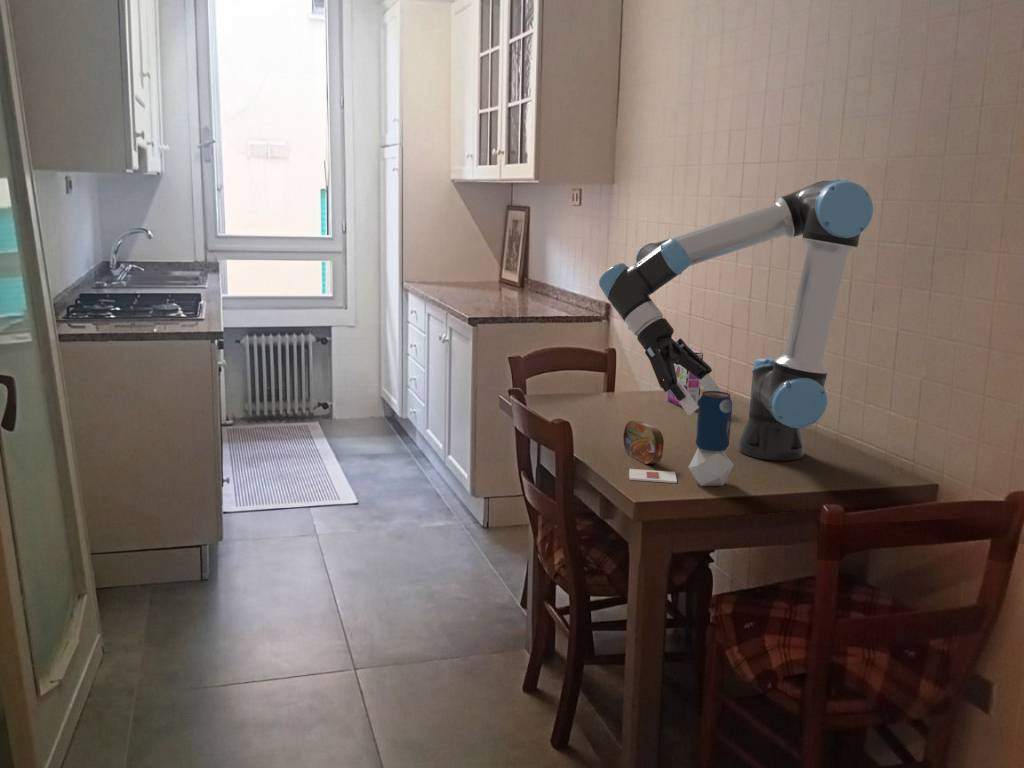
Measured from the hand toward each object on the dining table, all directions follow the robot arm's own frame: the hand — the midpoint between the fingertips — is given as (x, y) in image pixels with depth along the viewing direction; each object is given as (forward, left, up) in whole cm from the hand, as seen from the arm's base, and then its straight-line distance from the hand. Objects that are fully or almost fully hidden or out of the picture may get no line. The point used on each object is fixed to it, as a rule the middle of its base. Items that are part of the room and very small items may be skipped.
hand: (708, 406), depth 202 cm
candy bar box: (0, -76, -17) cm, 78 cm away
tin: (+12, -15, -17) cm, 26 cm away
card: (+11, -1, -17) cm, 20 cm away
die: (-1, 0, -17) cm, 17 cm away
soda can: (-1, 0, -9) cm, 9 cm away
